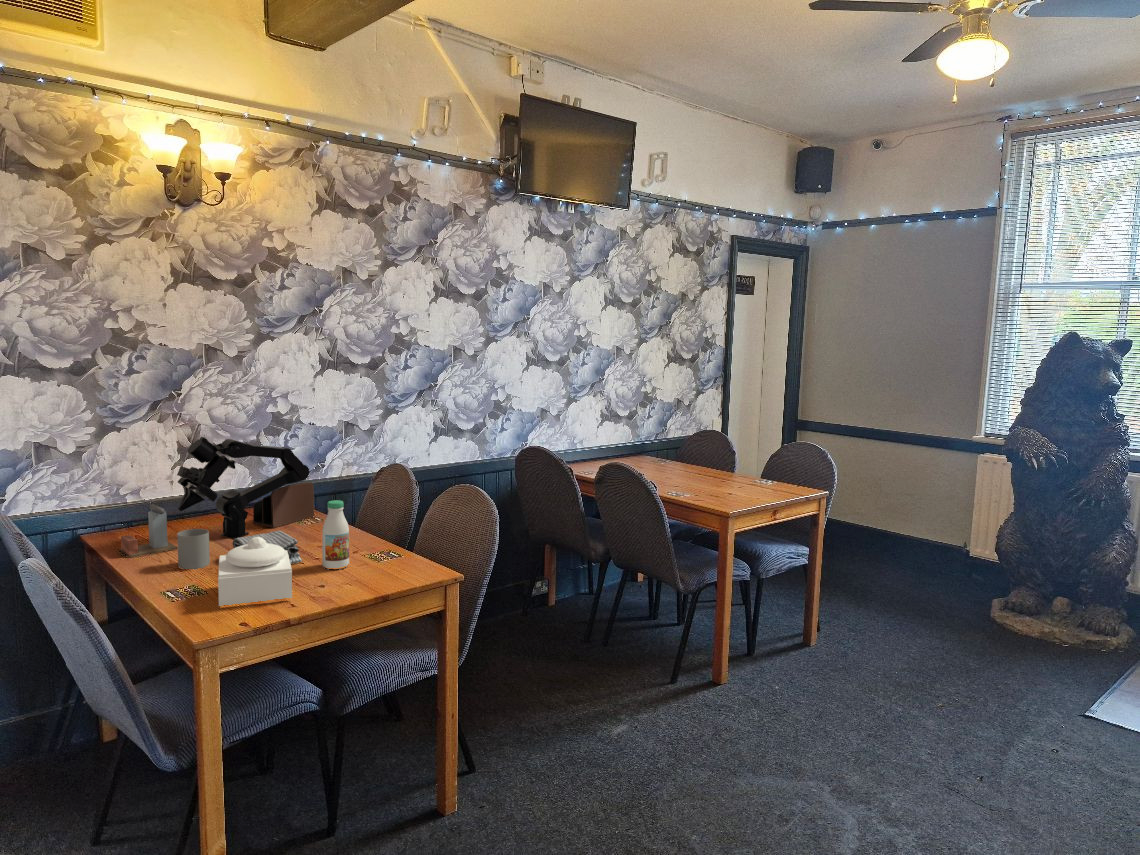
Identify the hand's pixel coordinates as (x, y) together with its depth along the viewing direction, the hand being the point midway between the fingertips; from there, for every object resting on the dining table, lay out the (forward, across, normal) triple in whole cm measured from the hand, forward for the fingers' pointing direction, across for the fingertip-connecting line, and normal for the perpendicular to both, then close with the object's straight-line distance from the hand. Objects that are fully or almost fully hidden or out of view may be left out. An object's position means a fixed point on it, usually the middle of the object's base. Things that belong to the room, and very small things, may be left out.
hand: (179, 510), depth 247 cm
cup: (+12, +24, +5) cm, 27 cm away
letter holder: (-18, -8, +36) cm, 42 cm away
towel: (0, +33, +18) cm, 37 cm away
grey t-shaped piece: (+13, 0, +3) cm, 13 cm away
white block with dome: (+10, +58, +7) cm, 59 cm away
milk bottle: (-9, +51, +27) cm, 59 cm away
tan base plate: (+15, 0, +1) cm, 15 cm away
